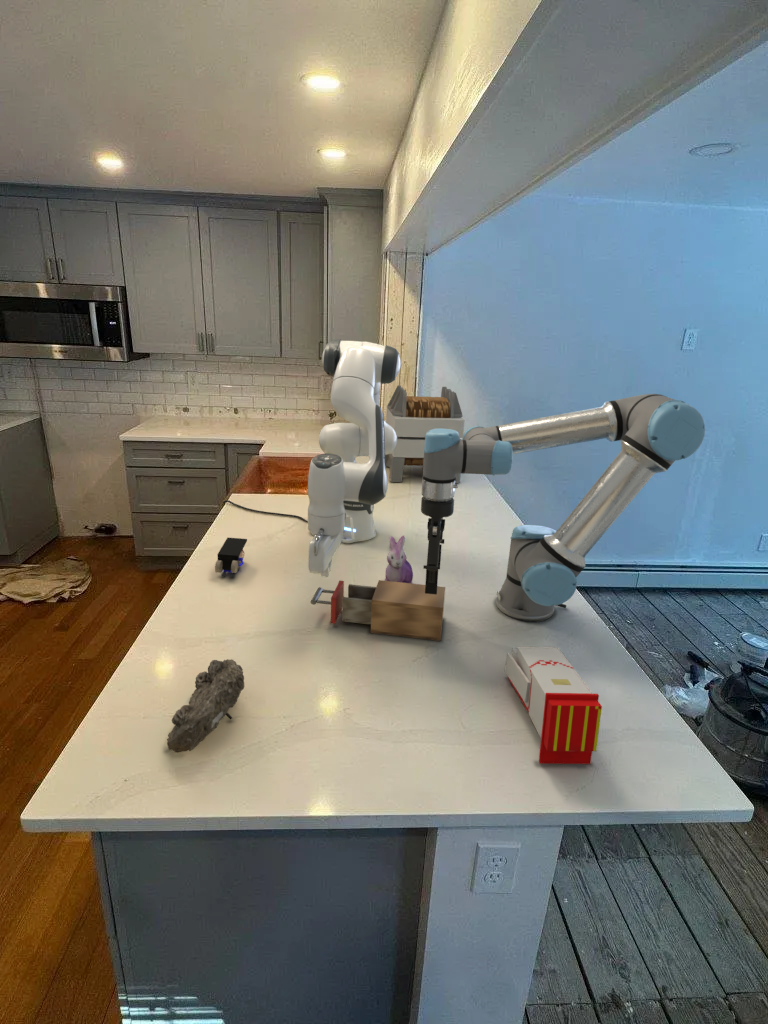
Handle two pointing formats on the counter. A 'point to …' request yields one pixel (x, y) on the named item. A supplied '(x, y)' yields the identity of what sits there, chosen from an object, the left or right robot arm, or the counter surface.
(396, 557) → the figurine
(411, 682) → the counter surface
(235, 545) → the figurine character
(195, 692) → the fossil
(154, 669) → the counter surface
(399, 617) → the cabinet
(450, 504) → the right robot arm
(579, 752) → the toy
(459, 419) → the transformer
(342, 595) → the drawer
